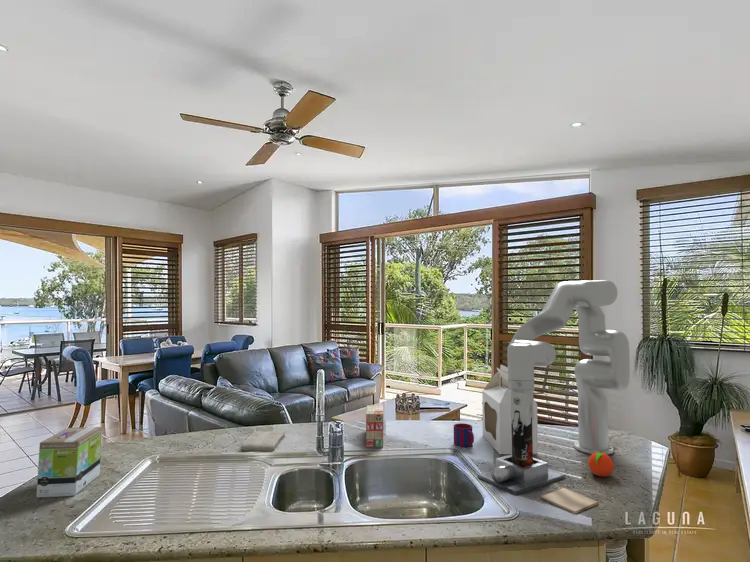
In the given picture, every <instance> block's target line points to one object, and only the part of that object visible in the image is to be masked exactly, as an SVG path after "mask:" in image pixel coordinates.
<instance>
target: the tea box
mask: <svg viewBox="0 0 750 562" xmlns="http://www.w3.org/2000/svg"><path fill="white" fill-rule="evenodd" d="M102 429H103V427H102V426H89V427H88V426H85V427H67V428H65V429H63V430H61V431H59V432H57V433H56V434H54V435H52V436H50V437H48V438H46V439H45V440H42V441H40V442H39V450H38V466H37V467H38V468H37V483H36V498H53V497H54V498H56V497H74V496H76V495H77V494H78V493H79V492H80V491H82V490H83V489H84V488H85V487H87V485H89V484H90V483H91V482H92V481H93V480H95V479H96V478H98V477H99V475H100V474H101V460H102V459H101V456H102V455H101V454H102V434H103V433H102V432H103V431H102Z"/></svg>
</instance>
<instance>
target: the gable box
mask: <svg viewBox="0 0 750 562" xmlns="http://www.w3.org/2000/svg"><path fill="white" fill-rule="evenodd" d="M495 368H496V370H497V371H496V372H495V373H494V375H493V376H492V378H491V379H490V380H489V382H488V383H487V385H485V387H484V389H483V390H482V393H481V394H482V396H481V397H482V436H483V437H484V438H485V439H486V440H487V441H488V443H489V444H490V445H491V446H492V447H493V448H494V450H495V451H496V452H497V453H498V454H499V455H500V454H512V429H511V413H510V407H511V390H509V389H508V366H506V365H504V364H500V367H498V366H497V367H495ZM533 400H534V415H535V418H534V420H533V421H532V439H533V455H538V454H539V453H538V452H539V449H538V448H539V446H538V445H539V444H538V442H539V441H538V439H539V437H538V436H539V435H538V403H537V402H536V400H535V399H534V398H533Z"/></svg>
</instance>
